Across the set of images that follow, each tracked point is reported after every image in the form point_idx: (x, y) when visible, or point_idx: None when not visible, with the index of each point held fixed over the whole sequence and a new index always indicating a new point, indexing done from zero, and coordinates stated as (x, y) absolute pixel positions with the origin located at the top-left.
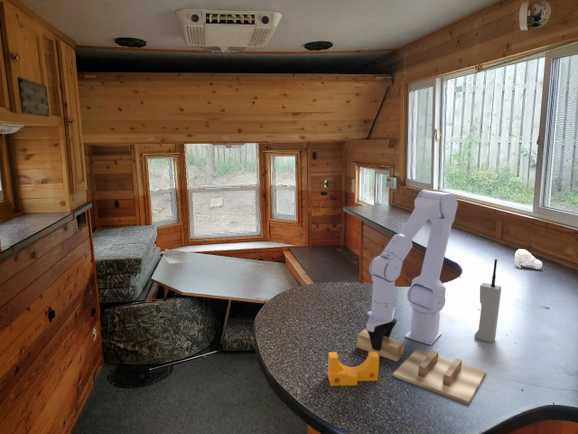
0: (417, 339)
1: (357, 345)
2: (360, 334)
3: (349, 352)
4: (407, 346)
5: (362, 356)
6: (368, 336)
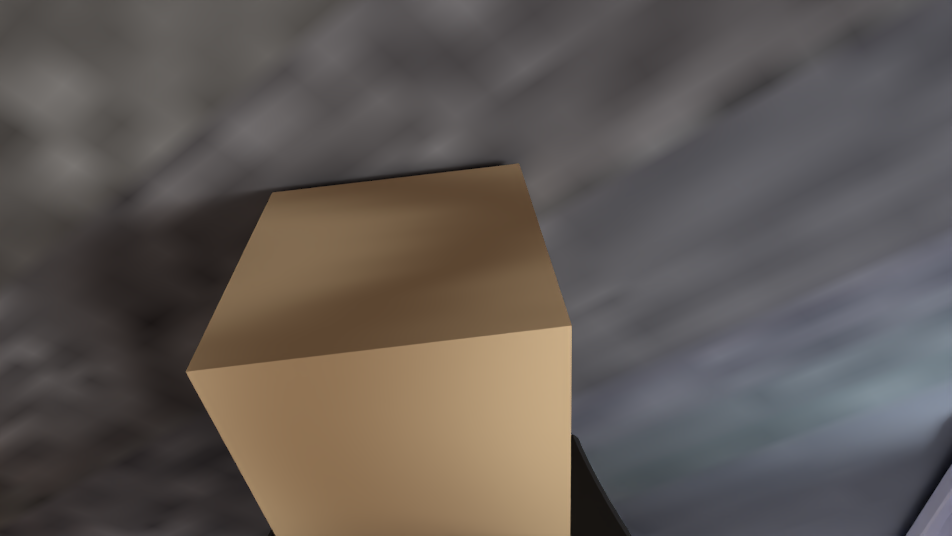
0: (938, 517)
1: (267, 220)
2: (250, 410)
3: (47, 192)
4: (763, 494)
5: (167, 361)
6: (332, 522)
